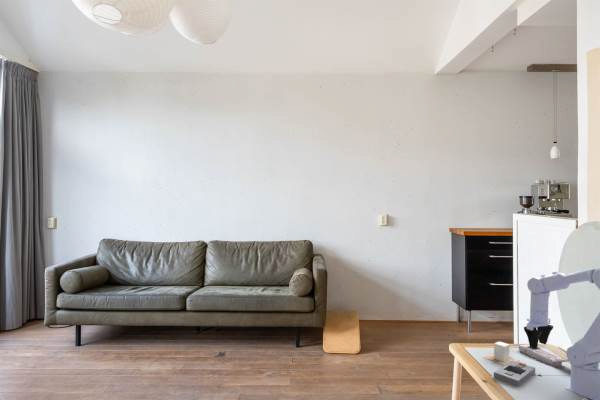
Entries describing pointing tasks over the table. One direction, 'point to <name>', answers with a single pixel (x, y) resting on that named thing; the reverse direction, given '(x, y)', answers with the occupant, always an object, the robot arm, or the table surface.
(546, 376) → the table surface
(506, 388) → the table surface
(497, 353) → the white rectangular block
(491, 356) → the cork coaster
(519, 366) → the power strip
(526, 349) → the mobile phone
